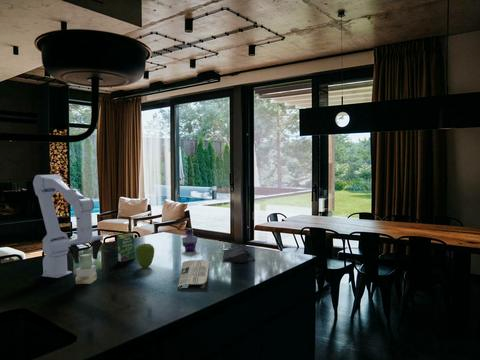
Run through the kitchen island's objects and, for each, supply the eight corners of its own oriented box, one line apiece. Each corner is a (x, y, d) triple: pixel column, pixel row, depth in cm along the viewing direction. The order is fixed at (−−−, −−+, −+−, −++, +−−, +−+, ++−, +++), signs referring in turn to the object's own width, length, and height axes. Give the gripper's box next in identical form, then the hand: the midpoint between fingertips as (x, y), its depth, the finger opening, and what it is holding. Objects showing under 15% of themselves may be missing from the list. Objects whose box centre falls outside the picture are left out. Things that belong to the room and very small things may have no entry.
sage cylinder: (77, 268, 148) (77, 256, 148) (86, 265, 152) (85, 253, 152) (85, 269, 146) (85, 257, 146) (94, 266, 150) (93, 254, 150)
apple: (149, 270, 161) (148, 245, 161) (132, 270, 163) (131, 244, 162) (158, 265, 170) (157, 240, 169) (141, 264, 172) (140, 240, 171)
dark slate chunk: (251, 251, 193) (251, 242, 193) (255, 262, 171) (254, 252, 171) (222, 252, 193) (222, 243, 192) (222, 264, 171) (222, 254, 170)
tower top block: (76, 276, 147) (76, 269, 147) (82, 272, 152) (82, 265, 152) (90, 276, 147) (89, 269, 147) (95, 272, 152) (95, 265, 152)
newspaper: (182, 265, 170) (182, 258, 170) (209, 264, 172) (209, 256, 171) (177, 292, 135) (177, 283, 135) (211, 290, 136) (210, 280, 136)
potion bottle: (178, 250, 197) (178, 228, 196) (192, 247, 203) (191, 226, 202) (187, 253, 190) (187, 230, 190) (201, 250, 196) (200, 228, 196)
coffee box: (120, 262, 176) (119, 235, 175) (117, 261, 178) (116, 235, 177) (135, 259, 182) (134, 233, 181) (132, 258, 184) (131, 232, 183)
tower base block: (75, 284, 147) (75, 277, 146) (82, 279, 153) (82, 272, 152) (90, 284, 146) (90, 277, 146) (96, 279, 152) (96, 272, 152)
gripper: (70, 231, 140) (72, 266, 141) (106, 226, 151) (107, 258, 152) (62, 229, 145) (64, 263, 146) (97, 224, 156) (99, 255, 156)
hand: (86, 260), depth 149 cm, fingers open, 7 cm apart
